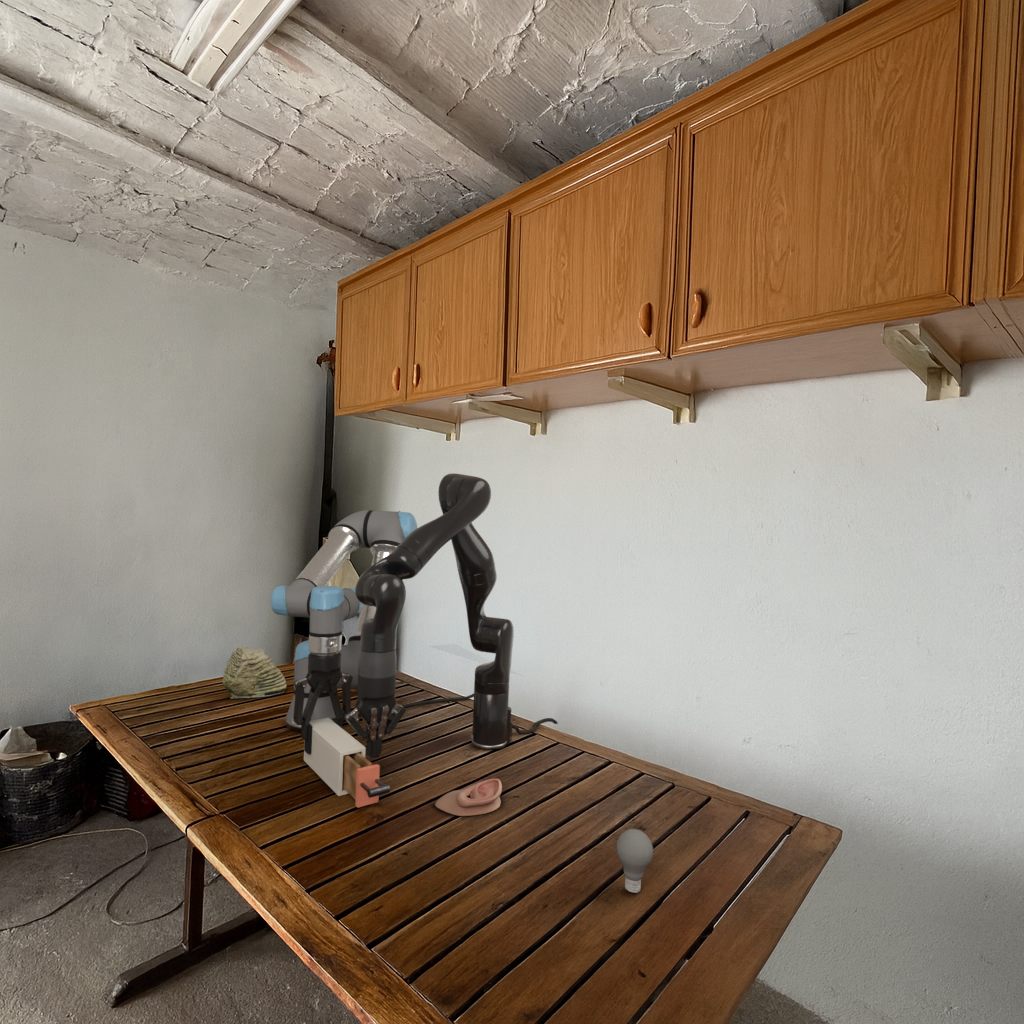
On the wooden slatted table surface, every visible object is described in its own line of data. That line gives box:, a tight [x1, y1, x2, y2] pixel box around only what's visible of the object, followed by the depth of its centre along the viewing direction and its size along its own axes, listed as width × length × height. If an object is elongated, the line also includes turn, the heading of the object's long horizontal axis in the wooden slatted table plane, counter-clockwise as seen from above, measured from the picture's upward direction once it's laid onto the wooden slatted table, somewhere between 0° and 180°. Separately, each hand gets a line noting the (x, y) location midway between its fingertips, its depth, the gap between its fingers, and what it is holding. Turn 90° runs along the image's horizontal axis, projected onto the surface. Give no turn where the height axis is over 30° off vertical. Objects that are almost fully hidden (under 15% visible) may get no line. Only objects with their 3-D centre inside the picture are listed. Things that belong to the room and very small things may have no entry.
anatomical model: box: [434, 778, 503, 817], centre depth 133 cm, size 13×4×12 cm
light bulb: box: [615, 828, 654, 894], centre depth 106 cm, size 6×6×10 cm
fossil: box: [222, 646, 288, 699], centre depth 198 cm, size 9×18×15 cm, turn 132°
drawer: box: [342, 752, 391, 809], centre depth 135 cm, size 26×5×8 cm, turn 38°
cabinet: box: [303, 718, 366, 797], centre depth 145 cm, size 22×6×9 cm, turn 38°
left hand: (321, 749), depth 150 cm, fingers closed on cabinet, 6 cm apart
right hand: (373, 756), depth 128 cm, fingers closed
